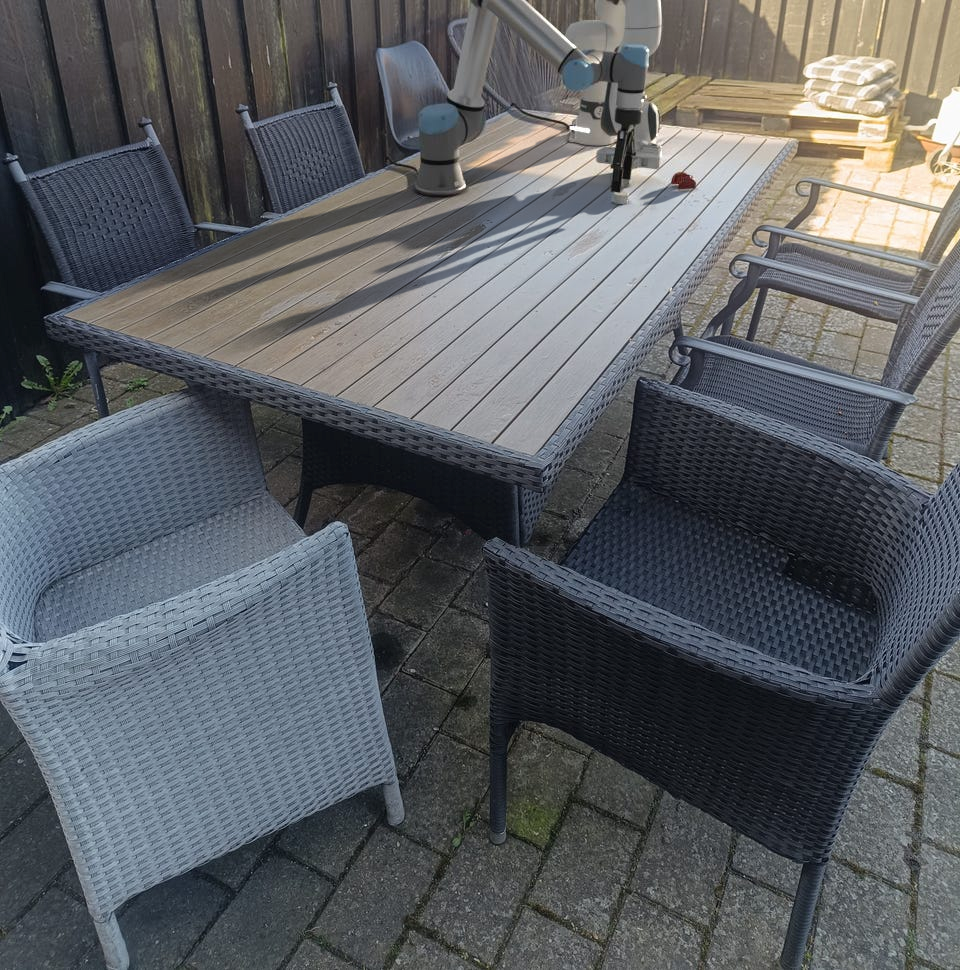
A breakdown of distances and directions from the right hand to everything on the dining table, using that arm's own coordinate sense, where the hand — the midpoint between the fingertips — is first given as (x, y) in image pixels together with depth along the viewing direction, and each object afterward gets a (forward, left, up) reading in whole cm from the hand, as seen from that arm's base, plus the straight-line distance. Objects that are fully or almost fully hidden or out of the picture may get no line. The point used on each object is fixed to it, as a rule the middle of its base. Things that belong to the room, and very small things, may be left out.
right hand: (622, 164), depth 258 cm
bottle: (-1, 0, -7) cm, 7 cm away
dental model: (+2, +19, -7) cm, 20 cm away
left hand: (+15, -3, -2) cm, 16 cm away
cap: (+16, -3, -4) cm, 17 cm away
